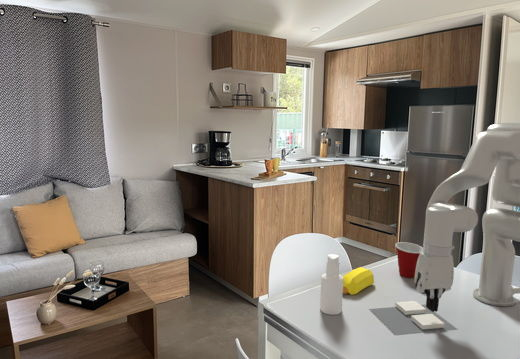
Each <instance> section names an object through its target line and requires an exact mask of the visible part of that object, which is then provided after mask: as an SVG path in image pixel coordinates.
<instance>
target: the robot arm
mask: <svg viewBox="0 0 520 359" xmlns="http://www.w3.org/2000/svg"><path fill="white" fill-rule="evenodd" d="M494 171H495V172H494ZM493 174H494V180H493V184H492V185H493V186H492V191H491V192H492V193H491V195H492V199H493V200H494V202H496V203H498V204H500V205H505V206H509V207H515V208H520V123H519V122H500V123H498V122H497V123H494V124H491V125H489V126H488V127H487V129H486V130H484V131H482V132H480V133H478V134H477V135H476V136H475V138H474V140H473V143H472V144H471V147H470V149H469V151H468V153H467V155H466V157H465V160H464V161H463V163H462V165H461V167H460V169H459V170H458V171H457V172H456V173H454V174H452V175H451V176H449V177H447V178H446V179H445V180H444V181H442V182H441V183H440V184H439V185H438V186H437V187H436V189H435V190H434V191H433V193H432V195H431V197H430V199H429V201H428V203H427V207H426V210H425V222H424V230H423V231H424V233H423V234H424V235H423V244H422V245H423V246H422V247H423V252H420V254H419V257H418V261H417V265H416V271H415V277H414V283H415V285H416V284H417V287H416V286H415V290H416V291H417V292H418V293H422V294H424V295H425V296H426V299H425V300H426V301H425V303H426V304H425V305H426V307H427V308H428V309H429V310H430V311H432V312H435V313H437V312H438V310H439V302H440V299H441V298H442V296H443V294H444V293H445V292H447V291H448V292H449V291H451V289H452V286H453V284H454V276H455V275H454V274H455V271H454V270H455V269H454V268H455V267H454V257H453V254H452V251H453V250H455V245H453V238H454V237H453V236H454V233H466V232H470V231H472V230H474V229H475V228H476V226H477V225H478V223H479V215H478V213H477V212H476V210H474V209H473V208H471V207H469V206H465V205H460V204H455V203H452V202H449V200H450V199H451V198H452V197H453V196H455V195H456V194H458V193H459V192H460V193H461V192H462V191H465V190H470V189H473V188H478V187H481V186H482V187H483V186H485V185H487V184H488V183H489V182H490V181H491V178H492V176H493ZM481 218H482V219H481V225H482V226H481V227H482V232H483V233H482V236H483V238H482V239H483V240H482V250H481V251H482V254H481V262H480V269H479V271H480V272H479V273H480V274H479V281H478V282H479V283H478V288H475V289H473V291H472V292H473V293H472V294H473V295H472V296H473V297H474V298H475V299H477V300H478V301H480V302H482V303H484V304H487V305H490V306H491V305H492V306H498V307H511V306H513V305H515V304H516V298H515V297H514V295H516V294H520V287H514V286H512V285H513V284H512V283H513V274H514V265H515V258H516V250H515V246H514V244H513V242H512V241H515V242H518V243H519V242H520V211H518V210H514V209H508V208H502V207H492V208H490V209H487V210H485V212H484V213H483V215H482V217H481Z"/></svg>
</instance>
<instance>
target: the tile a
mask: <svg viewBox="0 0 520 359" xmlns="http://www.w3.org/2000/svg"><path fill="white" fill-rule="evenodd" d="M421 305H422V304H421V303H419V302H418V301H416V300H409V301H408V300H407V301H395V305H394V307H397V308H398V309H399V310H400V311H401V312H403V313H404V314H405V315H414V314H424V313H426V309H425V308H424V307H423V306H421Z"/></svg>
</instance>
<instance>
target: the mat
mask: <svg viewBox="0 0 520 359" xmlns="http://www.w3.org/2000/svg"><path fill="white" fill-rule="evenodd" d="M420 305H421V306H423V307H424V308H425V309H426V313H424V314H433V315H434V316H436V317H437V318H438V319H440V320H441V321H442V322H443V323H445V324H444V328H438V329H427V330H422V329H421V328H420V327H419V326H418V325H417V324H415V323H414V322H413V321H412V320H411V315H405V314H404V313H403V312H401V311H400V310H399V309H398V308H397V307H396V306H392V307H381V308H380V307H378V308H377V307H376V308H369V309H368V310H369V311H370V312H371V313H372V314H373V315H374V316H375V317H376V318H377V319H378V320H379V321H380V322H381V323H382V325H383V326H385V327H386V328H387V330H389V331H390V332H391V333H392V334H393V335H394V336H400V335H401V336H402V335H413V334H423V333H434V332H444V331H454V330H458V328H457V327H456V326H454V325H453V324H452V323H451V322H449V321H447V320H446V318H443V317H442V316H441V315H440V314H438V313H437V312H435V311H434V312H432V311H430V310H429V309H428V308H427V307H426V304H420ZM414 315H422V314H414Z"/></svg>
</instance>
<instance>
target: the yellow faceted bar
mask: <svg viewBox="0 0 520 359" xmlns="http://www.w3.org/2000/svg"><path fill="white" fill-rule="evenodd" d="M342 277H343V294H344V295H347V294H349V295H350V296H353V295H356V294H358V293H359V292H360V291H362V290H364V289H365V288H367V287H370V286H372V285H374V284H375V277H374V274H373V272H372V270H371V269H370V268H364V267H363V266H359V267H357V268H355V269H352V270H351V271H349V272H348V273H346V274H344V275H343V276H342Z"/></svg>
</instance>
